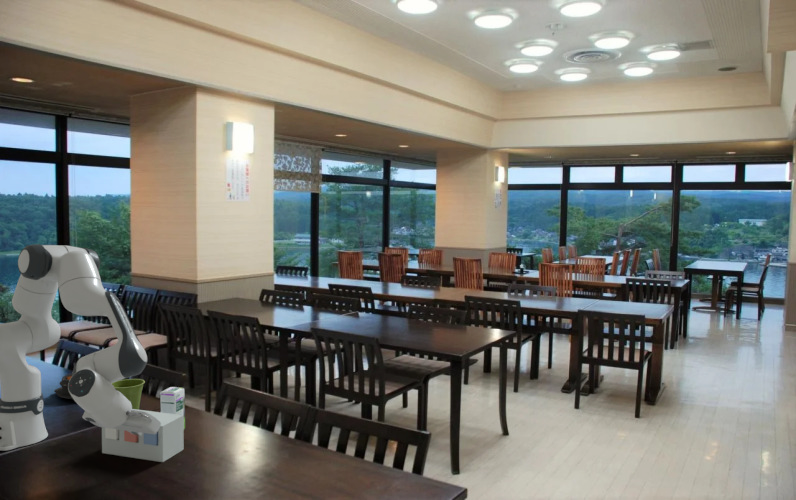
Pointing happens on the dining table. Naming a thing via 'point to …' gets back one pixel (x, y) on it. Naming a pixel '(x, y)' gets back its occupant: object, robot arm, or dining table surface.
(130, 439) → the red key
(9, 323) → the robot arm
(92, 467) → the dining table surface
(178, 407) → the syrup box
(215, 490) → the dining table surface
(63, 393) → the casserole
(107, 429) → the white key
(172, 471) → the dining table surface
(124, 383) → the plant pot
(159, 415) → the key console
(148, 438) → the blue key
